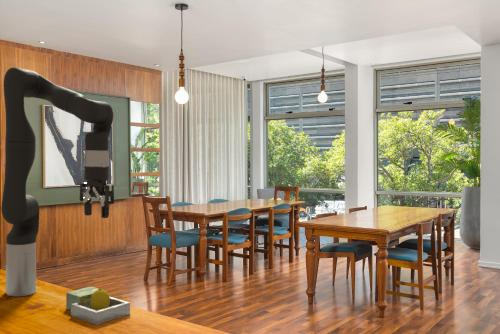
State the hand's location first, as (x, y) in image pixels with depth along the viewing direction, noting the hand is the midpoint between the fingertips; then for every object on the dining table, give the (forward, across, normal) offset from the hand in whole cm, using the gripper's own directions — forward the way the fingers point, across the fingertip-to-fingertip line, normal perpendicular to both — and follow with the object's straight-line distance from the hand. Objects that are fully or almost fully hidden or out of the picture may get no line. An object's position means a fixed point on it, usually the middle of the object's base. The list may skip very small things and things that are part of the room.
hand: (96, 216), depth 160 cm
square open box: (+28, +5, -5) cm, 29 cm away
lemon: (+28, +9, -5) cm, 30 cm away
